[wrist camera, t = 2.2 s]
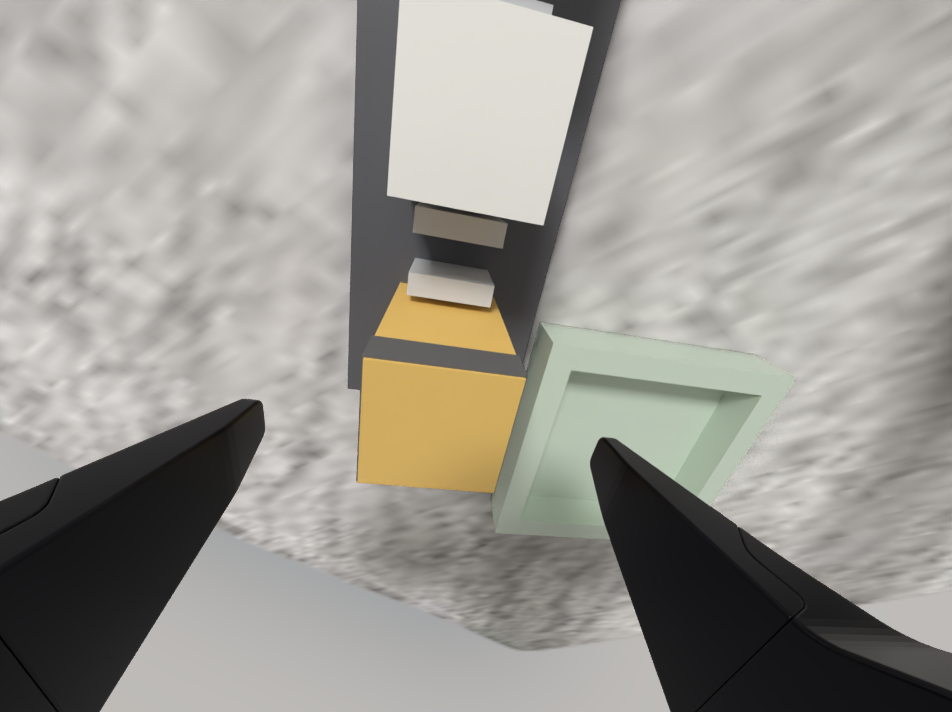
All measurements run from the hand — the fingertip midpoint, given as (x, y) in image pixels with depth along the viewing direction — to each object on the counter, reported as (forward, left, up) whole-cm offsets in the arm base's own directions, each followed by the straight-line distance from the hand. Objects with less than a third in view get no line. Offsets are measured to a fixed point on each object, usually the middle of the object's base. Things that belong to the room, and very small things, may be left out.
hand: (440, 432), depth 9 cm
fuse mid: (0, -7, -7) cm, 10 cm away
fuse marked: (0, 0, -7) cm, 7 cm away
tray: (-11, +6, -9) cm, 15 cm away
